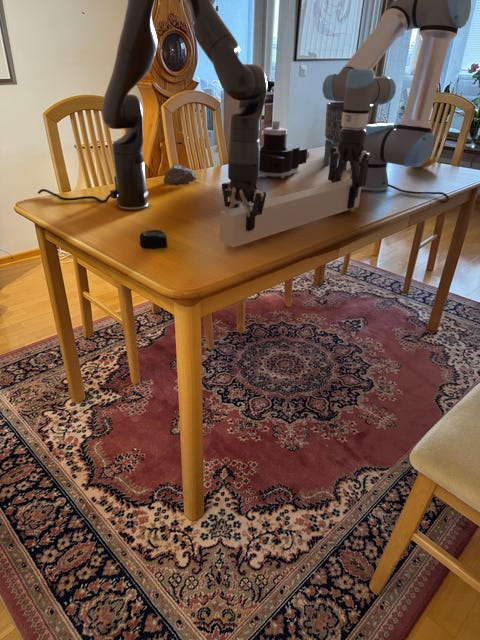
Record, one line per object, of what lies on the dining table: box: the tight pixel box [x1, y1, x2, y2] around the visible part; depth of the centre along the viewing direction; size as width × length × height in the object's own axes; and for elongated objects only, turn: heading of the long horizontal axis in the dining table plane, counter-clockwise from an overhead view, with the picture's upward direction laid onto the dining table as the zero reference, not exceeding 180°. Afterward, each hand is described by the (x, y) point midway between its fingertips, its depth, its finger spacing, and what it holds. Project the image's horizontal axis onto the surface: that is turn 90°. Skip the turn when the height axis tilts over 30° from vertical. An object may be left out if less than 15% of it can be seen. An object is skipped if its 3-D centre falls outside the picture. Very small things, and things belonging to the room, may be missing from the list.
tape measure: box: [139, 229, 168, 250], centre depth 117 cm, size 7×7×4 cm
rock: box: [163, 163, 198, 186], centre depth 176 cm, size 13×9×6 cm, turn 131°
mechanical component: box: [259, 120, 311, 179], centre depth 191 cm, size 22×21×30 cm
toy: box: [418, 156, 435, 169], centre depth 214 cm, size 11×6×15 cm
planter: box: [323, 101, 374, 172], centre depth 204 cm, size 20×20×26 cm
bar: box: [219, 178, 362, 248], centre depth 131 cm, size 56×5×8 cm, turn 134°
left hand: (242, 227), depth 118 cm, fingers closed on bar, 5 cm apart
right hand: (343, 205), depth 146 cm, fingers closed on bar, 5 cm apart
